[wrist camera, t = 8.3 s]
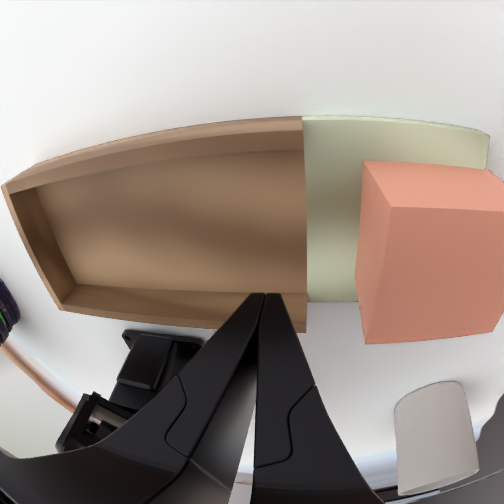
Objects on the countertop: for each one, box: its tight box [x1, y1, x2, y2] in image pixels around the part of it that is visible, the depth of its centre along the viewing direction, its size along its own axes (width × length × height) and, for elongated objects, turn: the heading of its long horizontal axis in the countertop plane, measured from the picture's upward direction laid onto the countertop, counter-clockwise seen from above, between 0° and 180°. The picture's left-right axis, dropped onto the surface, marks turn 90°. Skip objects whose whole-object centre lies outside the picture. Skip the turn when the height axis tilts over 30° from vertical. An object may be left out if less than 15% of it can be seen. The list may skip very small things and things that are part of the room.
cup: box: [394, 381, 479, 495], centre depth 18 cm, size 7×10×9 cm
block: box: [354, 160, 504, 344], centre depth 9 cm, size 6×6×4 cm
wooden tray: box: [1, 116, 490, 333], centre depth 12 cm, size 9×23×3 cm, turn 96°
